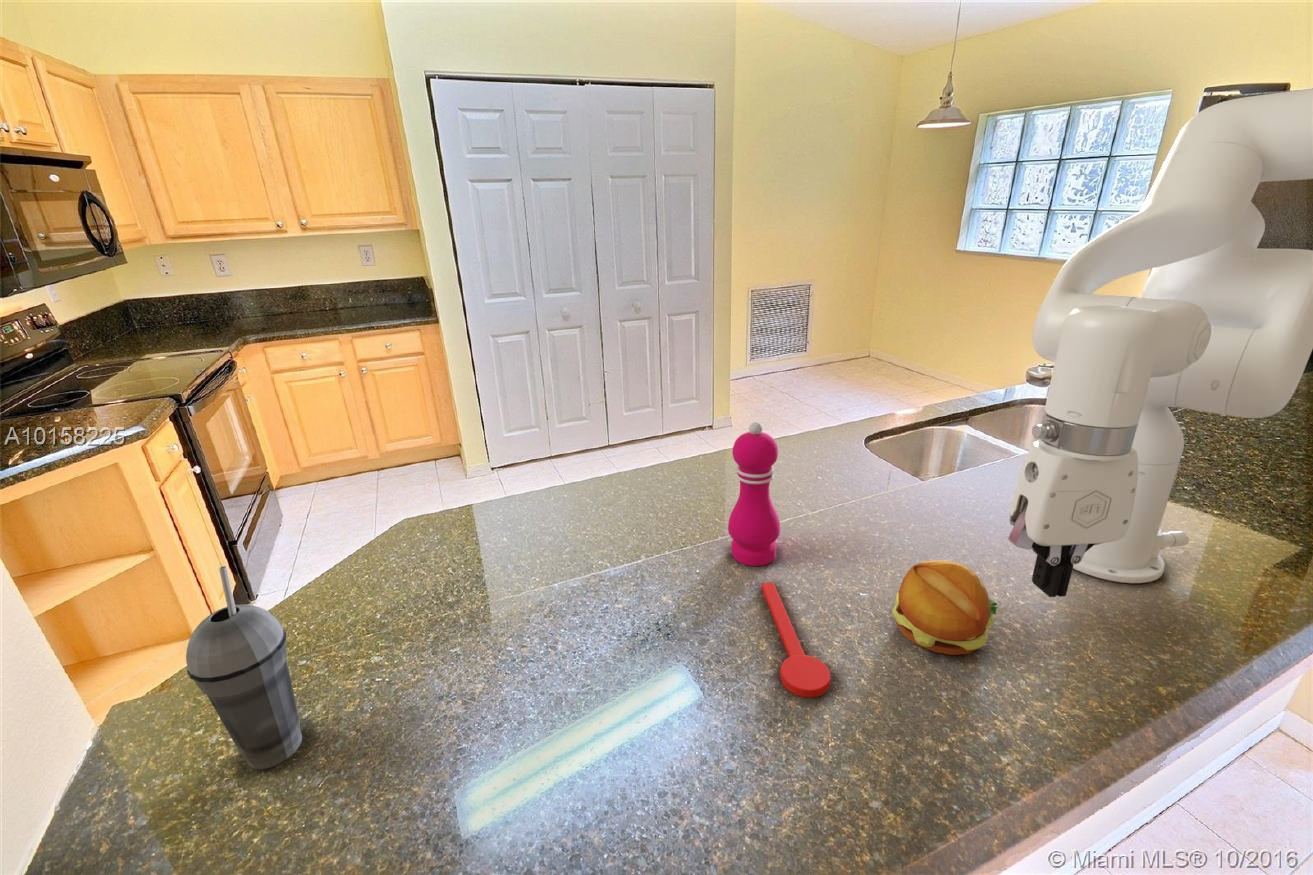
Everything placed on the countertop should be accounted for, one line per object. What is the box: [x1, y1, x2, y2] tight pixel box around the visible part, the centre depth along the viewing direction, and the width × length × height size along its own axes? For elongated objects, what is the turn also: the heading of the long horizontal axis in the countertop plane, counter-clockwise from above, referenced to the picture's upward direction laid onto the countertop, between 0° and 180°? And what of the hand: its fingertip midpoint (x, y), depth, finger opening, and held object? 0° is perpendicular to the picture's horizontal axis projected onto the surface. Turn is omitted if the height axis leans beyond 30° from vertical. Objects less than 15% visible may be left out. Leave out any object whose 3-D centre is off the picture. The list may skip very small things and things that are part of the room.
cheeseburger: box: [891, 559, 998, 656], centre depth 64 cm, size 10×11×10 cm
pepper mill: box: [727, 421, 781, 567], centre depth 79 cm, size 7×7×20 cm
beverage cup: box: [185, 565, 303, 770], centre depth 51 cm, size 7×7×20 cm
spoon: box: [760, 582, 831, 699], centre depth 66 cm, size 5×18×1 cm, turn 4°
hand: (1048, 589), depth 64 cm, fingers closed
